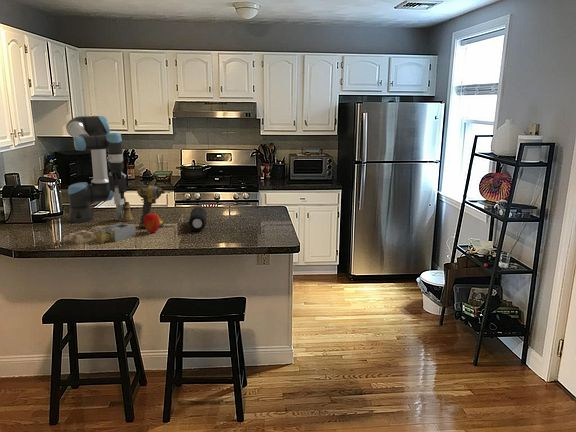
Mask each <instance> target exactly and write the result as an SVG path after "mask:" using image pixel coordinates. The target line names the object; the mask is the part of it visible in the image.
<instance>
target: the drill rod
mask: <svg viewBox="0 0 576 432" xmlns="http://www.w3.org/2000/svg"><path fill="white" fill-rule="evenodd" d="M114 187H115V199H116V204H115V209H116V210H115V211H116V218H117V219H118V218H123V217H124V212H123V204H122V205H119V187H118V184H117V185H114Z"/></svg>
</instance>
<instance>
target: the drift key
mask: <svg viewBox="0 0 576 432" xmlns="http://www.w3.org/2000/svg"><path fill="white" fill-rule="evenodd" d="M95 240H96V243H100V244H104V243H106V242H109V241H111V236H110V233H104V234H102V233H96V234H95Z"/></svg>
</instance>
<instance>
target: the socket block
mask: <svg viewBox="0 0 576 432" xmlns="http://www.w3.org/2000/svg"><path fill="white" fill-rule="evenodd" d="M136 231H137V229H136V224H129V223H127V222H126V223H125V222H119V223H116V224H112V225H108V226H104V227H101V234H104V233H110V236H111V240H110V241H111V242H120V241H123V240H126V239H129V238H132V237H135V236H137V232H136Z"/></svg>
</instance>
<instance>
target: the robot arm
mask: <svg viewBox="0 0 576 432" xmlns="http://www.w3.org/2000/svg"><path fill="white" fill-rule="evenodd" d="M66 132H67V133H68V135H69V136H70V137H72V138H73V145H74V149H75V150H76V151H81V152H82V151H83V152H84V151H90V152H91V153H90V155H91V164H92V176H93V178H92V179H91V181H90V184H89V183H88V182H87V181H85V182H84V181H83V182H82V181H80V182H75V183H72V184H70V185H69V186H68V189H67V190H68V191H67V193H68V201H69V213H68V217H67V219H68V220H67V221H68V222H69V223H86V222H91V221H93V220H95V215H94V212H93V210H92V208H91V203H101V202H108V201H112V200H113V202H114V205H116V199H115V187H114V185H118V187H119V205H122V204H124V197H125V193H126V192H127V190H128V188H127V177H128V175H127V174H125V173H124V170H123V169H124V167H125V165H124V155H123V154H124V153H123V144H122V143H123V139H122V134H121V133H120V132H111V129H110V125H109V122H108V119H107V117H106V116H103V115H102V116H101V115H91V116H90V115H86V116H85V115H83V116H76V117H73V118H72V119H70V120H69V121H68V122H67V124H66ZM107 158H108V159H107ZM107 160H108V163H107ZM108 169H109V170H110V172H108Z"/></svg>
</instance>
